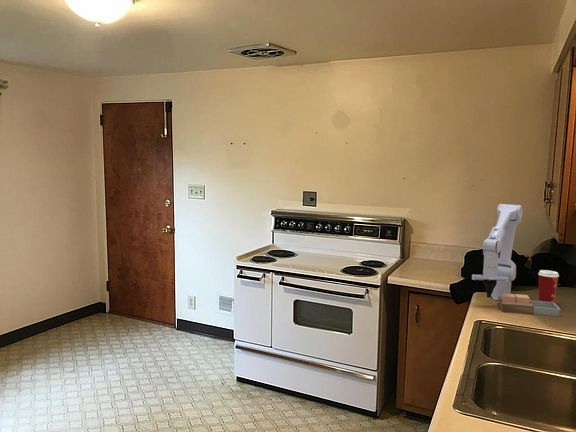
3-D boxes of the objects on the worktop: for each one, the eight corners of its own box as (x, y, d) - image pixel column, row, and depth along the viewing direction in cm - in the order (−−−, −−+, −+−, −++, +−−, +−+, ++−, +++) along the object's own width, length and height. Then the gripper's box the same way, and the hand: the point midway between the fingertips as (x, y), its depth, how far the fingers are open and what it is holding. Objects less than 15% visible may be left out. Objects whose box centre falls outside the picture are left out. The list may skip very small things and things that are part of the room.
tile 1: (500, 298, 215) (501, 293, 215) (513, 299, 214) (513, 294, 214) (502, 301, 210) (503, 296, 210) (515, 302, 209) (515, 297, 209)
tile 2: (514, 299, 214) (514, 294, 214) (526, 300, 213) (527, 295, 212) (516, 302, 209) (516, 297, 209) (529, 303, 208) (529, 298, 208)
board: (497, 304, 219) (498, 296, 219) (527, 306, 216) (527, 298, 216) (502, 311, 208) (502, 303, 207) (533, 314, 205) (533, 306, 204)
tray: (527, 306, 216) (528, 300, 215) (553, 308, 213) (553, 302, 213) (533, 314, 205) (533, 307, 205) (560, 316, 202) (560, 309, 202)
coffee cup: (559, 307, 215) (561, 274, 213) (538, 306, 216) (541, 273, 215) (553, 302, 223) (555, 270, 221) (533, 301, 224) (535, 269, 223)
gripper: (473, 267, 211) (472, 297, 212) (510, 269, 207) (508, 300, 208) (472, 263, 217) (470, 293, 219) (507, 266, 214) (505, 296, 215)
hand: (488, 296), depth 214 cm, fingers closed
